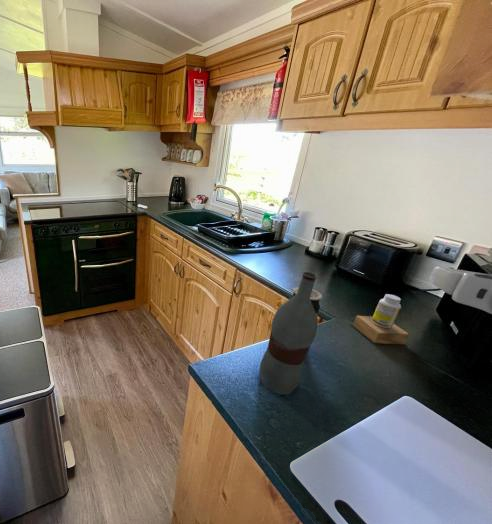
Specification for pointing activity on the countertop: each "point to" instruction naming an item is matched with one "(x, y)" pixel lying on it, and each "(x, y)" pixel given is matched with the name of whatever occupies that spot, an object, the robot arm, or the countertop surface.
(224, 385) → the countertop surface
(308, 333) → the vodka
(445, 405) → the countertop surface
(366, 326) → the oak block
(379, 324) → the supplement bottle
